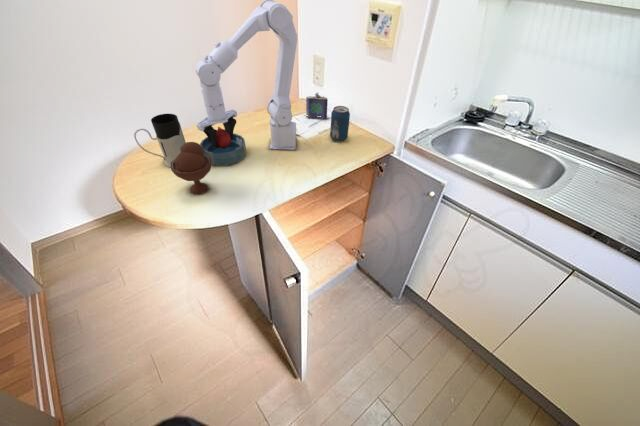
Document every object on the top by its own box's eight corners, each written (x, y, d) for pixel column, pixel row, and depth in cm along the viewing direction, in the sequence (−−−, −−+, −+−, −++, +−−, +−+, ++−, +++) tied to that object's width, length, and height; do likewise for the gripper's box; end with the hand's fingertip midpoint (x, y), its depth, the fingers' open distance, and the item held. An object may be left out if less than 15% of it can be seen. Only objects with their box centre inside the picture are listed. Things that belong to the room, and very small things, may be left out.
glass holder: (196, 161, 100) (183, 119, 90) (153, 176, 93) (134, 132, 83) (186, 151, 104) (173, 110, 94) (144, 164, 97) (125, 122, 87)
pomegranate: (234, 145, 104) (230, 123, 98) (229, 153, 99) (225, 131, 94) (218, 143, 104) (214, 122, 98) (212, 151, 100) (207, 130, 94)
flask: (305, 118, 128) (305, 93, 121) (306, 115, 131) (306, 91, 124) (326, 119, 128) (327, 95, 121) (327, 117, 130) (328, 92, 123)
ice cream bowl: (184, 179, 92) (170, 135, 82) (220, 178, 93) (210, 135, 83) (175, 200, 84) (157, 155, 74) (214, 199, 85) (202, 154, 75)
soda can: (346, 134, 118) (349, 105, 110) (348, 143, 113) (351, 113, 105) (329, 134, 118) (331, 105, 110) (330, 142, 112) (332, 112, 104)
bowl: (250, 145, 109) (248, 133, 106) (242, 167, 98) (239, 154, 95) (210, 144, 109) (207, 132, 105) (197, 166, 98) (193, 153, 94)
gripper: (203, 114, 85) (213, 155, 94) (240, 99, 94) (246, 138, 103) (188, 107, 88) (199, 148, 97) (226, 94, 97) (232, 132, 106)
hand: (222, 142), depth 100 cm, fingers closed on pomegranate, 6 cm apart
